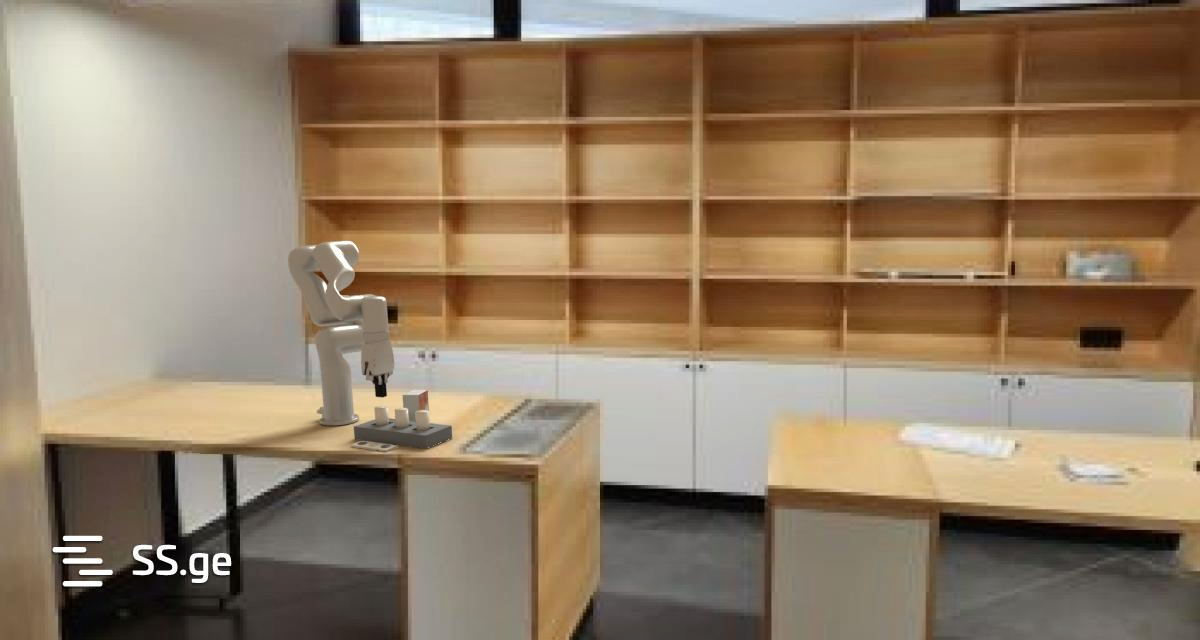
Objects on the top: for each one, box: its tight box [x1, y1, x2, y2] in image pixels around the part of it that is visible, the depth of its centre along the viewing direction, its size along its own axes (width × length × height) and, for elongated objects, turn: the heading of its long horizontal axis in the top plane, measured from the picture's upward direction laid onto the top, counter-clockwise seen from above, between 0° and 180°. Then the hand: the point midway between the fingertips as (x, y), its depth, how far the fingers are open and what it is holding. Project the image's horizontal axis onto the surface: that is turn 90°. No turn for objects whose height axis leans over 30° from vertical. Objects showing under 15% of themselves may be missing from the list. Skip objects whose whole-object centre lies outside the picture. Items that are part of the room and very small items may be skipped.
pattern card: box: [349, 440, 399, 452], centre depth 273 cm, size 14×5×1 cm, turn 61°
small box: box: [402, 389, 430, 421], centre depth 298 cm, size 8×6×10 cm
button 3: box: [415, 410, 431, 431], centre depth 276 cm, size 4×4×7 cm
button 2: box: [394, 407, 409, 429], centre depth 280 cm, size 4×4×7 cm
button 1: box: [374, 405, 390, 426], centre depth 284 cm, size 4×4×7 cm
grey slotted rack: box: [353, 417, 453, 449], centre depth 281 cm, size 28×12×4 cm, turn 61°
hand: (381, 396), depth 283 cm, fingers closed
